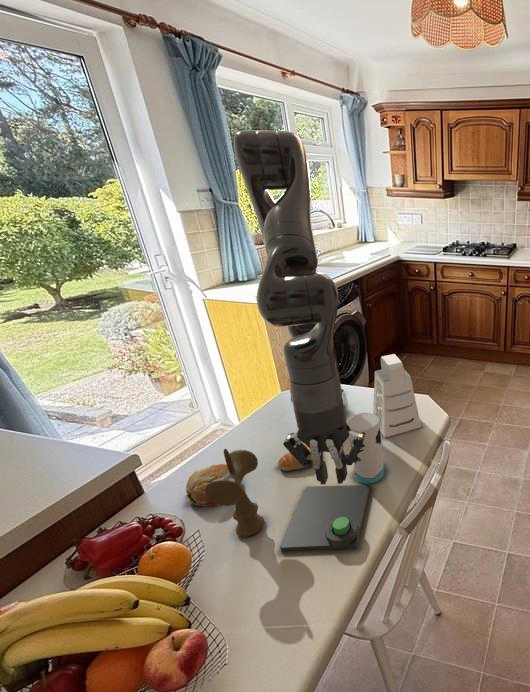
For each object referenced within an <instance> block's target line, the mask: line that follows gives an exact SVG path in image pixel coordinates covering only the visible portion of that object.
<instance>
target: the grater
mask: <svg viewBox="0 0 530 692" xmlns="http://www.w3.org/2000/svg"><path fill="white" fill-rule="evenodd" d="M380 367H381V369H377V370H375V371H374V383H373V408H372V414H374V415H376V416H377V417H378V418H379V425H380V433H381V434H382V436H383V437H384V438H388V437H391V436H395V435H398V434H402V433H405V432H408V431H412V430H415V429H419V428H421V427H422V424H421V419H420V414H419V411H418V405H417V400H416V396H415V391H414V385H413V381H412V376H411V375H410V374H409V373H408V372H407V371H406V370H405V368H404V365H403V362H402V360H401V359H400V358H399V357H398V356H397V355H396V353H392V354H388V355H382V356H380ZM409 421H410V422H409ZM405 422H407V423H405ZM402 423H404V424H402ZM395 425H397V426H395ZM392 426H394V427H392Z"/></svg>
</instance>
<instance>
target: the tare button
mask: <svg viewBox="0 0 530 692" xmlns="http://www.w3.org/2000/svg"><path fill="white" fill-rule="evenodd" d="M333 530H334V533H335V534H336V535H339V536H340V535H344V534H346V533H347V532H348V531H349V530H350V524H349V520H348V519H347V518H346V517H340V518H337V519H336V520H335V521H334V522H333Z"/></svg>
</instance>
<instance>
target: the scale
mask: <svg viewBox="0 0 530 692" xmlns="http://www.w3.org/2000/svg"><path fill="white" fill-rule="evenodd" d="M371 489H372V488H371V485H370V484H355V485H351V484H350V485H324V486H321V485H319V486H306V487H305V490H304V492H303V493H302V496H301V498H300V501H299V503H298V505H297V508H296V510H295V513H294V515H293V517H292V519H291V522H290V524H289V526H288V529H287V531H286V534H285V535H284V538H283V540H282V543H281V545H280V547H279V548H280V552H281V553H285V552H286V553H288V552H289V553H290V552H310V551H311V552H313V551H336V550H337V551H338V550H355V549H358V544H359V541H360V536H361V531H362V528H363V524H364V519H365V514H366V510H367V506H368V502H369V497H370V493H371ZM340 517H346V518H347V519H348V520H349V524H350V530H349V531H348V532H347V533H346V534H344V535H340V536H339V535H336V534H335V533H334V530H333V522H334V521H335V520H336V519H337V518H340Z"/></svg>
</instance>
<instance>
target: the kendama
mask: <svg viewBox="0 0 530 692" xmlns="http://www.w3.org/2000/svg"><path fill="white" fill-rule="evenodd" d="M223 456H224V460H225V464H226V465H227V470H226V472H225V474H224V475H223V477H222V478H220V479H216V480H214V481H212V482H210V483H208V484H207V486H206V489H205V493H206V496H207V498H208V499H209V500H210V501H211V502H213V503H214V504H217V505H218V506H221V507H223V506H225V507H229V506H235V508H234V511H233V512H232V513H233V514H232V519H233V520H235V521H236V522H237V525H236V528H235V534H236V535H237V536H238V537H245V538H246V537H250V536H253V535H255V534H258V533H259V531H261V530H262V528H263V527H264V526H265V518H264V516H262V515H261V514H258V510H259V506H258V503H257V502H255V501H251V500H250V498H249V496H248V494H247V492H246V491H245V489H244V487H243V485H242V482H243V479H244V478H245V477H246V476H247V475H248V474H250V473H252V472H254V471H255V470H256V469H257V468H258V466H259V461H258V460H259V459H258V458H257V456H256V455H255V453H253V452H252V451H249V450H247V449H236V450H233V451H231V452H229V451H228V449H227V448H224V449H223ZM217 505H216V506H217Z"/></svg>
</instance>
